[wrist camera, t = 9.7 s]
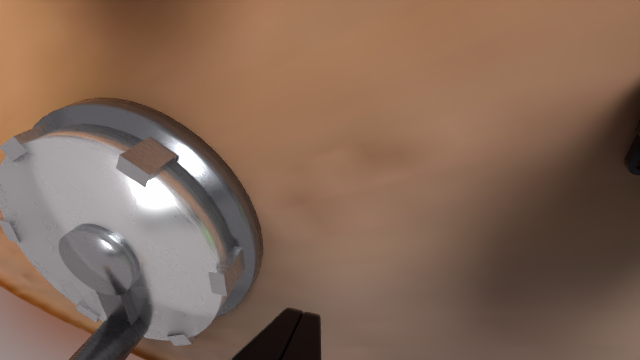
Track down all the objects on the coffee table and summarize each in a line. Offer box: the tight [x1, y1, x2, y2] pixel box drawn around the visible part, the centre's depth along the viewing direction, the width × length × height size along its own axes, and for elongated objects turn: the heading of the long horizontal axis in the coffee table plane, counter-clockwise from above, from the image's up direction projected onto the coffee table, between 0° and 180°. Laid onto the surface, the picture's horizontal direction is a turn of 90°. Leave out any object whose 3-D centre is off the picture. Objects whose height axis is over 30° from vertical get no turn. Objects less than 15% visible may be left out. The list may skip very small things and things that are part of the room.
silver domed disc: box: [0, 121, 245, 360], centre depth 20 cm, size 16×17×14 cm
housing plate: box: [33, 98, 263, 317], centre depth 27 cm, size 18×18×2 cm
